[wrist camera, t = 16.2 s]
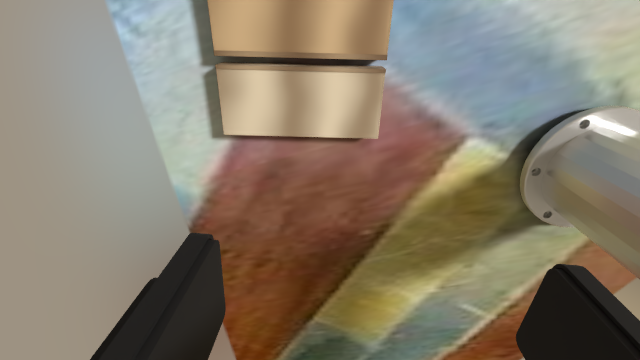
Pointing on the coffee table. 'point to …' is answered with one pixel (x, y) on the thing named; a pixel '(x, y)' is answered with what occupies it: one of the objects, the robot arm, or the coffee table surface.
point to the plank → (301, 28)
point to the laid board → (300, 99)
